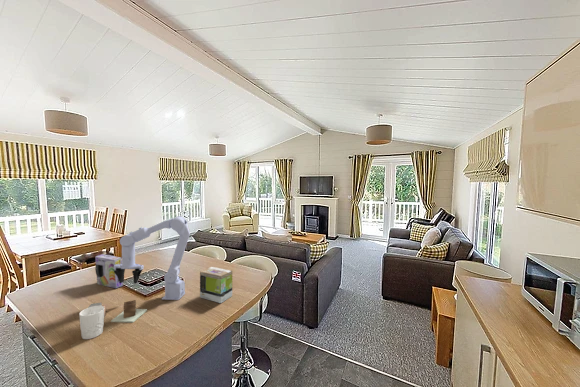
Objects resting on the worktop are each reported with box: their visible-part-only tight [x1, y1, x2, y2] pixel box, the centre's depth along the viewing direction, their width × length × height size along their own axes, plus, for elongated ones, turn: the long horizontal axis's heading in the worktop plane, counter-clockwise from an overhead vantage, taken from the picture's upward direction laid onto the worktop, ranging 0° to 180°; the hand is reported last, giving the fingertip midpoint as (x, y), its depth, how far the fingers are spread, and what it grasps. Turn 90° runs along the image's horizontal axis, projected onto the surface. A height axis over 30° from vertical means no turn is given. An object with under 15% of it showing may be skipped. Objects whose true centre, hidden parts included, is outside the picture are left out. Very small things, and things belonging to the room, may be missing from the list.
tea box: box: [199, 266, 233, 304], centre depth 129 cm, size 15×10×15 cm, turn 65°
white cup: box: [78, 305, 105, 340], centre depth 96 cm, size 8×8×10 cm
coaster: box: [110, 308, 148, 324], centre depth 110 cm, size 10×10×1 cm
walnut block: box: [123, 299, 137, 318], centre depth 110 cm, size 4×4×6 cm
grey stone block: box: [87, 302, 102, 308], centre depth 112 cm, size 4×4×4 cm
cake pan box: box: [94, 254, 124, 289], centre depth 141 cm, size 19×5×18 cm, turn 68°
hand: (128, 282), depth 123 cm, fingers open, 7 cm apart
